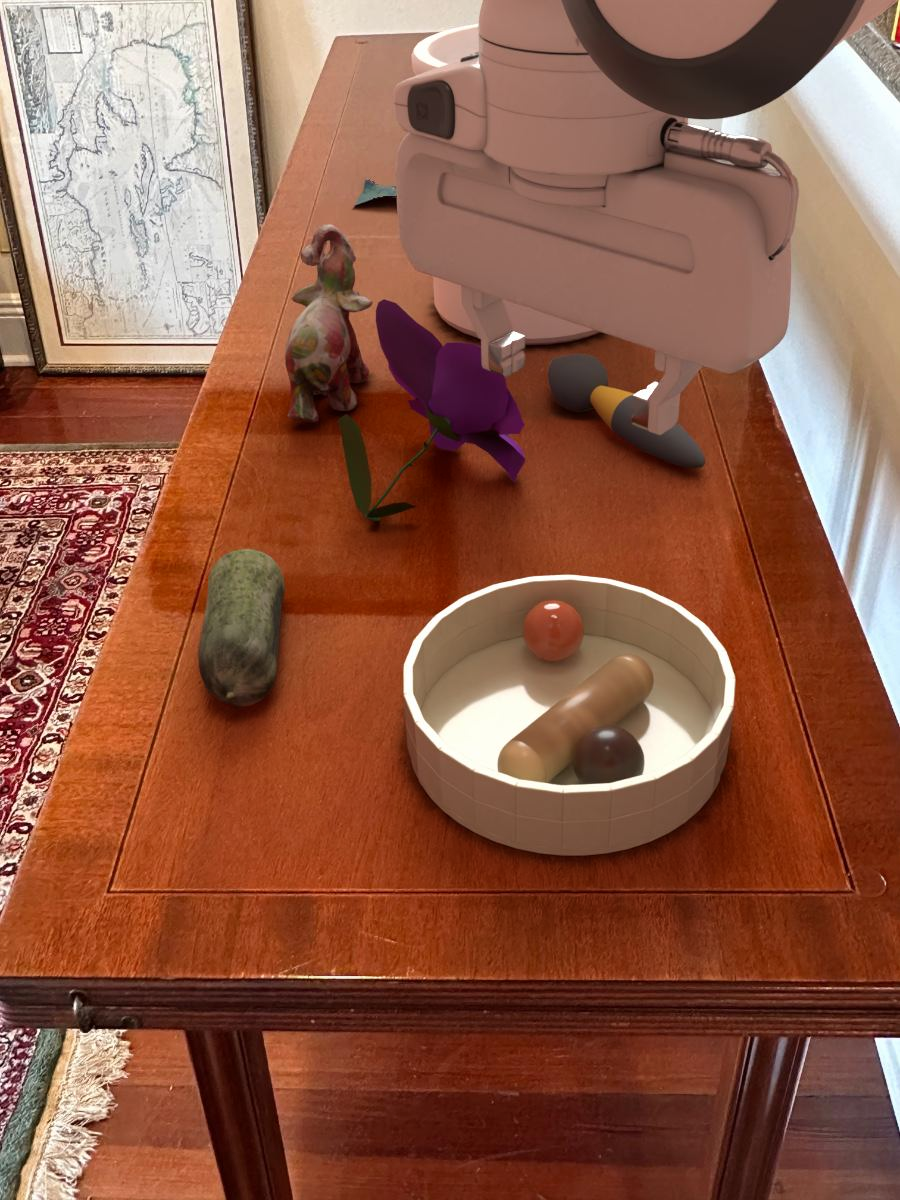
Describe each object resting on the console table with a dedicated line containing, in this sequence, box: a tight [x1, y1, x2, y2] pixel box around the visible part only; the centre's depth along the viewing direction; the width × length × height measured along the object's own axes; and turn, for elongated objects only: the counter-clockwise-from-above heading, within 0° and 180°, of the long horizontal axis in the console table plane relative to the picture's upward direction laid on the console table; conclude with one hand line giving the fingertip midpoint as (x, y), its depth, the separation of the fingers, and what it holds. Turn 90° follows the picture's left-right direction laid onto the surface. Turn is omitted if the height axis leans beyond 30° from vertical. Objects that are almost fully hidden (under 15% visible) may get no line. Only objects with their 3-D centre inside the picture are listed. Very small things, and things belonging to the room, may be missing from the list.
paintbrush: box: [547, 353, 706, 469], centre depth 101 cm, size 20×5×5 cm, turn 40°
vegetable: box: [197, 548, 286, 708], centre depth 78 cm, size 14×5×5 cm, turn 4°
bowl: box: [402, 574, 737, 857], centre depth 71 cm, size 19×19×5 cm
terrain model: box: [352, 179, 397, 206], centre depth 152 cm, size 13×8×2 cm, turn 170°
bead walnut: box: [573, 726, 645, 784], centre depth 67 cm, size 4×4×4 cm
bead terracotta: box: [522, 599, 585, 662], centre depth 77 cm, size 4×4×4 cm
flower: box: [336, 298, 526, 522], centre depth 92 cm, size 15×15×14 cm
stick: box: [497, 654, 654, 783], centre depth 70 cm, size 13×3×3 cm
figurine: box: [284, 223, 373, 423], centre depth 104 cm, size 8×12×15 cm, turn 146°
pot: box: [410, 23, 601, 346], centre depth 115 cm, size 26×22×25 cm
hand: (575, 396), depth 59 cm, fingers open, 8 cm apart
